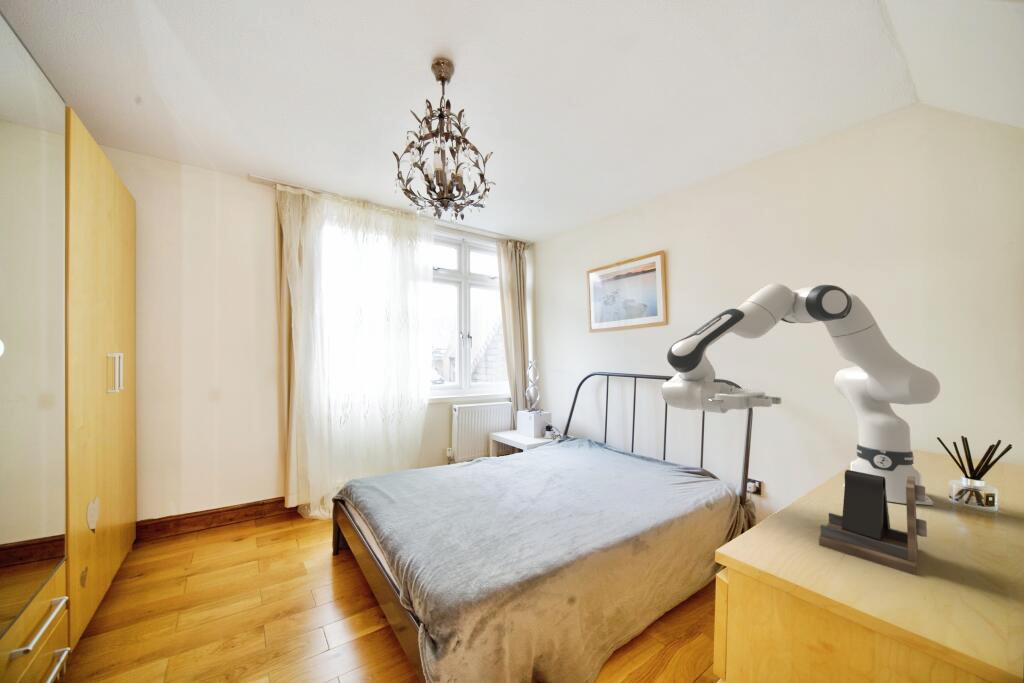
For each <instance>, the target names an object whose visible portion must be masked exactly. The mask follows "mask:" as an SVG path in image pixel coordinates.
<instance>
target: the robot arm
mask: <svg viewBox="0 0 1024 683" xmlns="http://www.w3.org/2000/svg"><path fill="white" fill-rule="evenodd" d="M780 321H782V322H783V323H788V324H813V323H818V322H822V323H823V324H824V326H825V328H826V330H827V333H829V336H830V338H831V339H832V342H833V344H834V346H835V348H836V349H837V352H839V355H840V356H841V357H842V358H843V359H845V360H846V361H848V362H850V363H852V364H854V365H856V366H851V367H846V368H841V369H840V370H839V371H837V372H836V374H835V376H834V377H833V378H834V379H833V384H834V388H835V390H836V391H837V392H838V393H839V394H840V395H842V396H843V397H844V399H846V401H847V402H848V403H849V405H850V406H851V408H852V410H853V413H854V415H855V418H856V422H857V437H858V438H857V439H858V444H856V456H857V458H856V459H854V460H852V461H851V462H850V470H851V471H856V472H861V473H866V474H871V475H876V476H882V477H885V481H886V496H887V502H892V503H895V504H896V503H898V504H903V505H904V504H905V505H906V484H907V478H908V476H911V477H915V485H921V486H923V484H922V474H921V473H920V472H919V471H918V470H917V469H916V468H915V467H914V466H913V464H914V458H915V457H914V453H913V451H912V450H911V449H912V447H911V428H910V426H909V424H908V422H907V421H906V420H905V419H903V418H902V417H900V416H898V415H897V414H896V413H895V411H894V410H893V408H892V407H891V404H897V405H905V406H906V405H924V404H929V403H931V402H933V401H934V400H935V399H937V397H938V396H939V394H940V391H941V384H940V381H939V380H938V378H937V377H936V375H934V373H933V372H931V371H929V370H926V369H924V368H921V367H920V366H917V365H916V364H914V363H912V361H911V362H910V361H909V360H908V359H907V358H905V357H904V356H902V355H901V354H900V353H898V351H897V350H896V349H894V348H893V346H892V345H891V344H890V343H889V342H888V339H887V338H886V337H885V335H884V333H883V331H882V330H881V328H880V327H879V325H878V323H877V321H876V319H875V317H874V316H873V314H872V313H871V310H869V308H868V307H867V306H866V304H865V303H864V302H863V301H862V300H861V299H860V298H859V296H857V295H855V294H853V293H852V294H851V293H848V292H846V290H845V289H843V288H841V287H840V286H836V285H833V284H820V285H813V286H805V287H801V288H799V289H794V290H791V289H790V288H789V287H788V286H786V285H783V284H782V283H770V284H769V283H768V285H767V284H766V285H765V286H764V287H762V288H761V289H759V290H758V291H756V292H755V293H753V294H752V295H751V296H749V297H748V298H747V299H746V300H745V301H744V302H742V303H741V304H740V305H739V306H737V307H736V308H729V309H726V310H724V311H722V312H720V313H719V314H717V315H716V316H714V317H713V318H712V319H710V320H709V321H708V322H706V323H704V324H703V325H702V326H700V327H699V328H697V329H696V330H695V331H693V332H692V333H691V334H689V335H687V336H685V337H684V338H682V339H679V340H677V341H675V342H674V343H673V344H672V345H671V346H670V347H669V349H668V351H667V355H666V359H667V362H668V364H669V365H670V366H671V367H672V368H673V369H674V370H675V371H676V373H675V375H674V376H673V377H672V378H670V379H669V380H667V381H664V382H663V383H662V386H661V394H662V399H663V400H664V402H665V403H666V404H667V405H668V406H670V407H673V408H676V409H681V410H690V411H694V410H700V411H703V412H707V413H716V414H726V413H728V411H732V410H740V411H741V410H743V411H744V410H746V409H751V408H755V407H756V408H757V407H759V408H761V407H763V408H770V407H772V405H773V404H774V405H781V404H782V403H783V402H782V398H781V397H778V396H772V395H771V396H770V395H767V394H766V393H765V392H764V391H760V390H754V389H747V388H740V387H736V386H735V385H730V384H727V383H726V382H723V381H722V382H721V381H719V382H717V381H715V378H716V371H715V368H714V367H713V365H712V364H711V362H710V360H709V359H708V357H707V355H706V351H707V349H708V348H709V347H710V346H712V345H713V344H714V343H716V342H717V341H719V340H720V339H721V338H723V337H724V336H726V335H727V334H730V333H733V334H735V335H736V336H739V337H741V338H743V339H744V338H745V339H749V340H750V339H752V340H753V339H759V338H760V337H763V336H764V335H766V334H767V333H769V331H771V329H773V328H774V327H775V326H776V325H777V324H779V322H780ZM842 487H843V488H845V482H843V484H842ZM925 498H926V502H919V501H916V505H924V506H925V505H926V506H934V502H933V500H932V499H931V498H930V497H929V496H928V495H927V494H925Z"/></svg>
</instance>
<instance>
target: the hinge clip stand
mask: <svg viewBox="0 0 1024 683" xmlns="http://www.w3.org/2000/svg"><path fill="white" fill-rule="evenodd" d="M925 495H926V486H924V485H922V486H921V485H915V477H911V476H908V478H907V484H906V504H905V505H906V526H907V527H906V528H907V529H906V530H907V531H902V530H899V529H895V528H891V527H890V531H889V533H888V534H887V535H885V537H884V538H883V539H882V540H881V541H879V540H876V539H872V538H869V537H866V536H862V535H859V534H856V533H852V532H849V531H846V530H842V517H843V515H839V514H836V513H832V512H828V523H827V525H824V524H821V525H820V536H818V545H819V546H821V547H823V548H828V549H830V550H832V551H837V552H840V553H843V554H847V555H849V556H853V557H857V558H860V559H863V560H865V561H869V562H872V563H875V564H879V565H882V566H886V567H889V568H892V569H895V570H899V571H902V572H905V573H909V574H911V575H915V576H917V571H918V570H917V568H918V552H919V551H918V549H919V548H918V546H919V545H918V536H919V537H924V538H926V537H928V528H927V520H925V519H920V518H917V504H916V501H919V502H926V498H925Z"/></svg>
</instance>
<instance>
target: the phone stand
mask: <svg viewBox="0 0 1024 683" xmlns="http://www.w3.org/2000/svg"><path fill="white" fill-rule="evenodd" d="M844 483H845V487H844V491H843V503H842V505H843V506H842V516H843V517H842V530H846V531H849V532H852V533H856V534H859V535H862V536H866V537H869V538H872V539H876V540H879V541H881V540H882V539H883V538H884V537H885V535H887V534H888V533H889V531H890V528H891V523H890V514H889V505H888V501H887V496H886V481H885V477H882V476H876V475H871V474H866V473H861V472H856V471H851V469H846V470H845V472H844Z"/></svg>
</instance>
